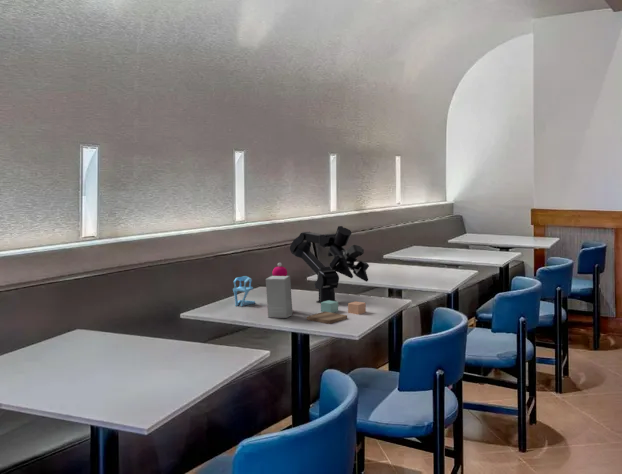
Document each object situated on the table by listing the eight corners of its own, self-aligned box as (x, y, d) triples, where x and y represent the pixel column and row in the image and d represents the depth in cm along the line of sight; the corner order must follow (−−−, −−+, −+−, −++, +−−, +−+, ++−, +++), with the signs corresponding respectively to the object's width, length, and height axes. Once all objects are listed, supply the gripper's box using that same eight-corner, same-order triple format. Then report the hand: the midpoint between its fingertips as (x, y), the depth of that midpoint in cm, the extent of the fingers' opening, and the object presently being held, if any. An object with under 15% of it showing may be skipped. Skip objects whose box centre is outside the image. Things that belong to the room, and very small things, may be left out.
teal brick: (320, 312, 244) (320, 302, 243) (328, 309, 248) (328, 300, 247) (330, 313, 240) (330, 303, 240) (338, 311, 244) (338, 301, 244)
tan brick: (348, 313, 241) (348, 303, 241) (355, 311, 245) (355, 301, 244) (358, 314, 238) (358, 304, 237) (365, 312, 242) (365, 302, 241)
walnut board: (306, 319, 230) (306, 316, 230) (324, 314, 239) (324, 311, 238) (329, 323, 223) (329, 320, 223) (347, 318, 231) (347, 315, 231)
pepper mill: (292, 310, 247) (291, 261, 245) (284, 313, 240) (283, 264, 238) (276, 308, 250) (276, 261, 248) (268, 312, 243) (267, 263, 241)
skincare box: (292, 315, 238) (292, 275, 236) (286, 319, 231) (285, 278, 230) (273, 313, 241) (272, 274, 239) (265, 317, 234) (265, 277, 232)
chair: (230, 305, 257) (229, 277, 256) (239, 301, 265) (239, 274, 263) (246, 307, 254) (245, 278, 253) (255, 303, 262) (254, 275, 260)
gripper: (336, 235, 241) (356, 259, 231) (366, 244, 254) (386, 267, 244) (321, 256, 245) (339, 281, 235) (351, 264, 258) (370, 288, 247)
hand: (360, 279), depth 240 cm, fingers open, 9 cm apart
